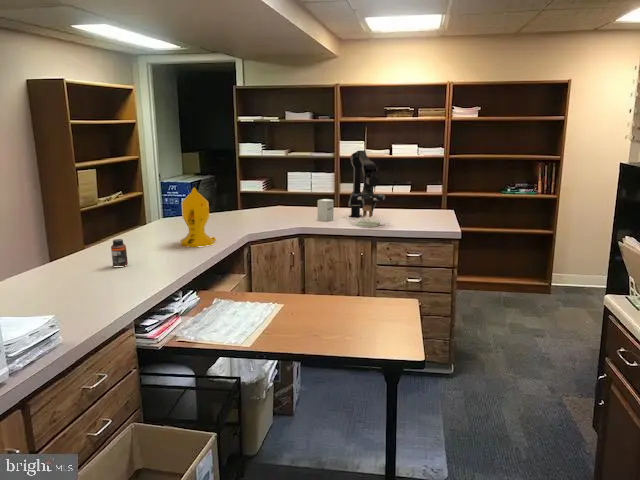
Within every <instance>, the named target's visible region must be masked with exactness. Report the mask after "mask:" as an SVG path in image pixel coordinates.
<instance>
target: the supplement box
mask: <svg viewBox="0 0 640 480" xmlns="http://www.w3.org/2000/svg"><path fill="white" fill-rule="evenodd" d="M316 214H317V221H320V220H321V221H320V222H326V221H327V222H329V221H334V199H329V198H323V199H318V200H317V213H316Z"/></svg>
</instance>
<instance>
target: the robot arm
mask: <svg viewBox="0 0 640 480" xmlns="http://www.w3.org/2000/svg"><path fill="white" fill-rule="evenodd" d="M350 164H351V165H352V167H353V181H352V182H353V186H352V192H351V193H350V197H349V200H348V204H347V205H348V207H349V208H350V214H349V218H350V217H353V218H355V217H356V218H360V217H361V216H362V214H361V209H362V210H363V206H365V199H366V200H369V199H373V200H372V201H371V203H372V205H371V206H372V212H374V209H375V207H376V205H377V203H378V201H385V199H386V196H385V194H383V193H378V194H375V193H374V187H377V186H378V184H379V183H380V182H379V178H378V177H376V176H378V172H379V171H378V167H377V166H376V165H377V164H375V163H374V161H372V160H370V159H369V157H368V155H367V152H366V150H356V151H355V152H353V153H352V154H351V155H350ZM362 174H363V186H362V191H361V185H362V184H361V180H362Z"/></svg>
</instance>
